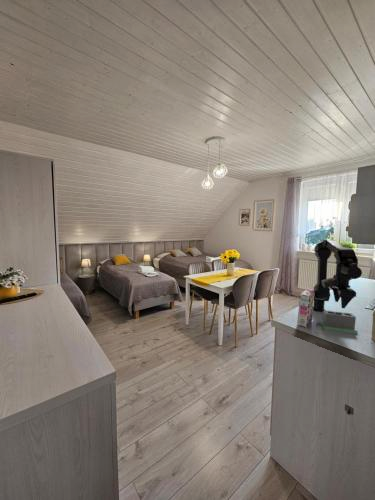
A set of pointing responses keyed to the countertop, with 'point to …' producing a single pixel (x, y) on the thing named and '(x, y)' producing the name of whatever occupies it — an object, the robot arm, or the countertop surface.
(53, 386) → the countertop surface
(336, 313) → the grey cinder block
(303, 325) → the candy bar box
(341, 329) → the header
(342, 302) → the robot arm
